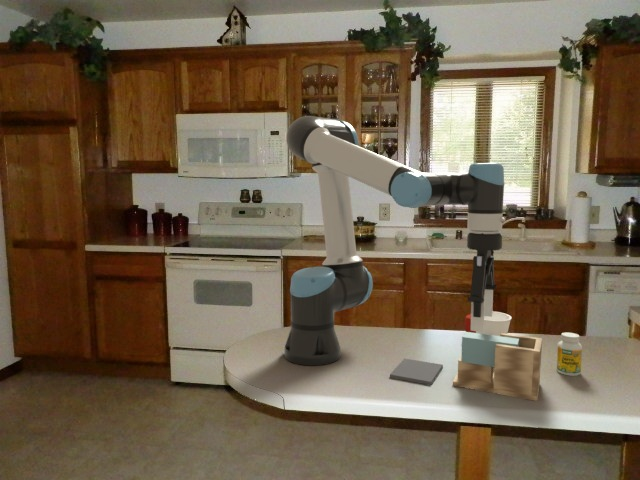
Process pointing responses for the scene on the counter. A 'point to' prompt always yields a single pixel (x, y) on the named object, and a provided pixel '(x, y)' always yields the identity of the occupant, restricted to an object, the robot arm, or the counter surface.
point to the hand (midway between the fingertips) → (481, 323)
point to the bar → (483, 347)
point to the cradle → (506, 370)
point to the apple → (468, 324)
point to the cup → (496, 324)
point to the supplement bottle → (569, 355)
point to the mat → (416, 371)
